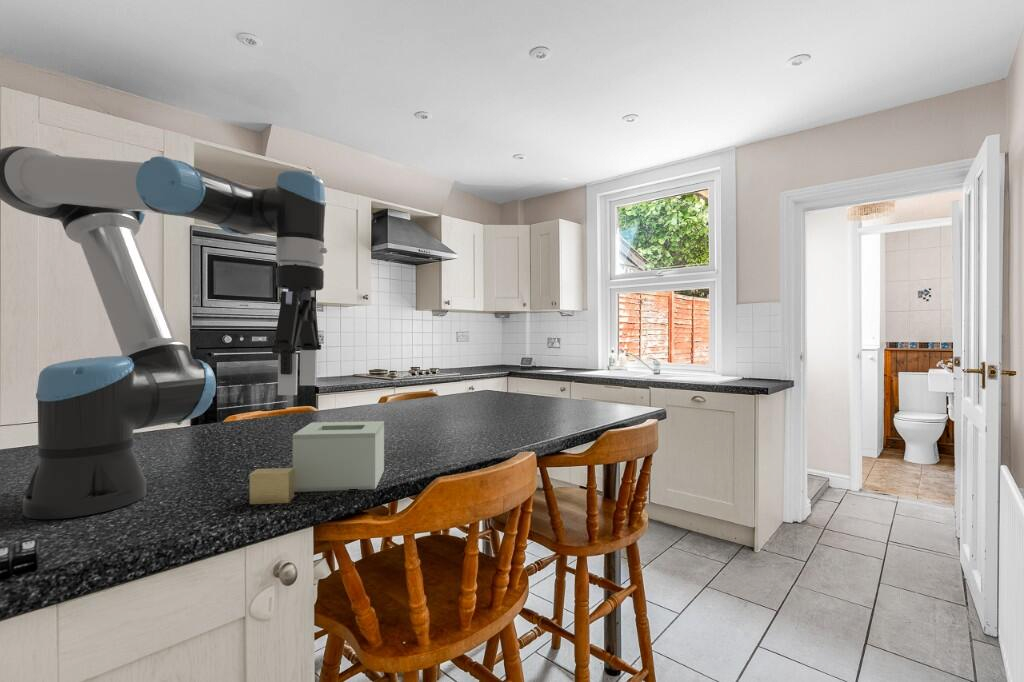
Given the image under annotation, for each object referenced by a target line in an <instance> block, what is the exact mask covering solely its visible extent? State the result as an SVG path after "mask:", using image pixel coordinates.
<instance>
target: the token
mask: <svg viewBox="0 0 1024 682" xmlns="http://www.w3.org/2000/svg"><path fill="white" fill-rule="evenodd" d="M294 498H295V492H294V468H293V467H283V468H282V467H281V468H280V467H279V468H278V467H277V468H275V467H273V468H256V469H255V470H253V471H251V472H250V473H249V505H264V504H265V505H267V504H268V505H269V504H289V503H290V502H291V501H292V500H293V499H294Z"/></svg>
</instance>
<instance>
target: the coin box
mask: <svg viewBox="0 0 1024 682" xmlns="http://www.w3.org/2000/svg"><path fill="white" fill-rule="evenodd" d="M384 443H385V421H384V420H383V421H382V420H381V421H380V420H377V421H375V420H371V421H326V422H325V421H322V422H318V421H315V422H313V421H312V422H310V423H309V424H307V425H306V426H304V427H302V428H301V429H299V430H298V431H296V432H295V433H293V434H292V468H294V493H303V492H333V491H334V492H335V491H350V490H349V489H358V490H357V491H362V490H363V491H364V490H376V488H377V486H378V484H379V481H380V480H381V478H382V476H383V474H384V471H385V450H384Z"/></svg>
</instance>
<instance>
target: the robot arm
mask: <svg viewBox="0 0 1024 682" xmlns="http://www.w3.org/2000/svg"><path fill="white" fill-rule="evenodd" d="M275 185H276V187H269V188H252V187H249V186H246V185H244V184H241V183H238V182H235V181H232V180H229V179H228V178H224V177H221V176H219V175H216V174H213V173H211V172H209V171H206V170H202V169H200V168H198V167H195V166H192V165H190V164H188V163H186V162H185V161H181V160H177V159H172V158H170V157H169V158H168V157H165V156H160V155H159V156H158V155H157V156H153V157H151V158H150V159H149V160H145V161H144V162H141V161H127V160H117V159H116V160H115V159H114V160H113V159H102V158H87V157H74V156H73V157H72V156H62V155H58V154H55V153H53V152H52V151H50V150H46V149H45V148H38V147H29V146H28V147H27V146H21V145H20V146H18V145H17V146H15V145H14V146H9V147H4V148H1V149H0V200H1V201H3V202H4V203H5V204H7V205H9V206H11V208H14V209H16V210H18V211H21V212H23V213H27V214H30V215H34V216H39V217H43V218H47V219H52V220H58V221H59V222H61V225H62V227H63V229H64V232H65V235H66V237H67V238H68V239H70V240H71V241H73V242H75V243H76V244H79V245H80V246H81V249H82V251H83V253H84V254H83V255H84V258H85V259H86V262H87V264H88V267H89V270H90V273H91V275H92V278H93V281H94V282H95V285H96V288H97V290H98V294H99V296H100V298H101V301H102V304H103V307H104V308H105V311H106V314H107V317H108V320H109V323H110V325H111V328H112V330H113V333H114V336H115V339H116V341H117V343H118V346H119V348H120V351H121V355H117V356H116V355H112V356H99V357H98V356H97V357H94V358H92V357H87V358H79V359H72V360H65V361H62V362H61V361H60V362H57V363H53V364H50V365H48V366H46V367H44V368H42V370H41V371H40V373H39V375H38V379H37V387H36V388H37V389H36V393H35V397H36V400H37V440H38V441H37V442H38V443H37V444H38V447H37V448H38V449H37V451H38V454H37V455H38V460H37V465H36V467H35V469H34V472H33V474H32V476H31V479H30V481H29V483H28V486H27V489H26V492H25V494H24V497H23V498H22V515H23V516H24V517H25V518H28V519H34V520H60V519H69V518H71V519H72V518H77V517H85V516H89V515H90V516H91V515H95V514H99V513H104V512H105V513H106V512H110V511H112V510H116V509H119V508H123V507H126V506H128V505H130V504H133V503H135V502H138V501H140V500H141V499H143V498H144V497H145V496H146V495H147V479H146V477H145V475H144V473H143V470H142V468H141V465H140V463H139V460H138V459H137V456H136V454H135V452H134V430H135V431H136V430H139V429H140V430H141V429H145V428H151V427H156V426H162V425H169V424H176V423H178V424H179V423H182V422H184V421H187V420H191V419H195V418H197V417H199V416H201V415H203V414H204V413H205V412H206V411H207V410H208V408H210V406H211V404H212V402H213V398H214V397H215V394H216V389H217V382H216V376H215V373H214V371H213V369H212V367H211V366H210V365H209V364H208V363H207V362H204V361H203V360H201V359H198V358H197V359H194V358H193V356H192V353H191V352H190V349H189V346H188V344H186V343H184V342H181V341H178V340H177V339H176V338H175V335H174V333H173V331H172V328H171V326H170V325H171V324H170V323H169V320H168V317H167V316H166V313H165V310H164V307H163V305H162V302H161V300H160V298H159V297H160V296H159V294H158V293H157V289H156V287H155V285H154V282H153V280H152V277H151V275H150V272H149V270H148V267H147V266H148V265H147V264H146V262H145V259H144V257H143V254H142V252H141V249H140V247H139V244H138V242H137V241H138V240H137V239H136V237H135V236H136V235H137V234H138V233H139V232H140V228H141V225H142V224H143V221H144V219H145V217H146V214H145V213H153V214H162V215H169V216H176V217H177V216H178V217H185V218H190V219H195V220H198V221H203V222H207V223H210V224H214V225H216V226H218V227H220V228H221V229H222V230H223V231H224V232H226V233H229V234H234V235H235V234H241V235H243V236H248V235H253V234H271V233H272V234H275V233H276V245H275V246H276V247H275V248H276V249H275V262H276V263H277V264H279V265H277V267H276V268H275V285H276V288H278V289H282V290H286V291H282V290H281V293H280V306H279V311H278V319H277V324H276V330H275V336H274V342H273V347H272V348H271V353H272V354H274V355H275V354H276V355H278V356H277V395H278V396H297V395H298V362H299V386H316V385H317V351H320V350H322V344H320V336H319V328H318V316H317V298H316V296H312V294H311V293H312V291H317V292H318V291H322V290H323V289H324V283H325V282H324V281H325V280H324V277H325V275H324V274H325V273H324V271H325V270H323V268H320V267H322V266H324V262H325V261H324V259H325V258H324V254H327V253H328V249H327V247H325V245H324V243H325V237H324V233H325V232H324V231H325V215H326V214H325V213H326V206H327V204H326V201H325V199H326V196H325V183H324V181H323V180H322V179H321V178H320V177H319V176H316V175H315V174H312V173H308V172H304V171H296V170H286V171H283V172H280V173H279V174H278V175H277V182H276V184H275ZM144 212H145V213H144ZM299 339H300V345H301V349H300V350H299V351H300V352H299V356H298V353H296V352H297V348H298V347H297V346H298V343H299ZM298 360H299V361H298Z"/></svg>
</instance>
